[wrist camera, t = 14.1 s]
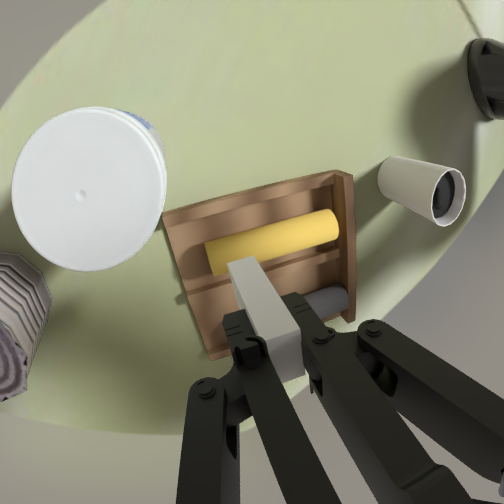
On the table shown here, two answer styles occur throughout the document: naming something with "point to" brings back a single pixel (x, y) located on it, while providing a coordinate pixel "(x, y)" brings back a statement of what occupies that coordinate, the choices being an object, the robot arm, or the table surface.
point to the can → (20, 320)
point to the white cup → (423, 188)
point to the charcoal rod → (328, 300)
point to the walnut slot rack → (277, 270)
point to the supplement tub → (90, 187)
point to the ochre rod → (272, 240)
